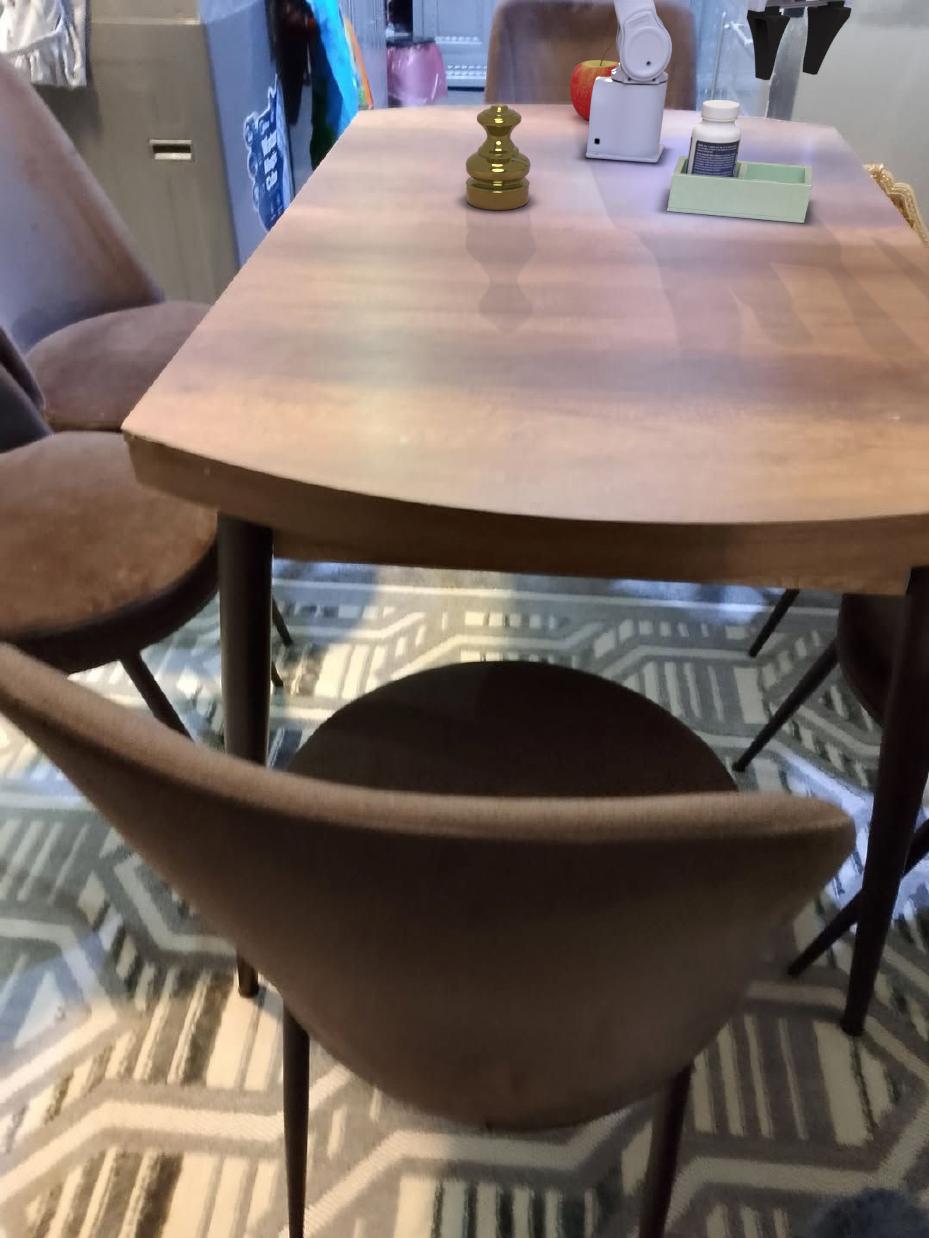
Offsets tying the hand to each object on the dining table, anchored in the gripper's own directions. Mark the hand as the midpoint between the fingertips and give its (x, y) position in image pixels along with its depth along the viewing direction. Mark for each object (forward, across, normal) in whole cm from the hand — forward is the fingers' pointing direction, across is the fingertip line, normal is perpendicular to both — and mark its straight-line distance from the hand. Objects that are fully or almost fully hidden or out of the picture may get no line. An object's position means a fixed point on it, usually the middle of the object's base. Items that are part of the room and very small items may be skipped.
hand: (786, 76), depth 115 cm
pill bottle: (+9, +20, +13) cm, 25 cm away
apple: (+10, +10, -28) cm, 31 cm away
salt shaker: (+10, +42, +1) cm, 43 cm away
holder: (+9, +18, +15) cm, 25 cm away
